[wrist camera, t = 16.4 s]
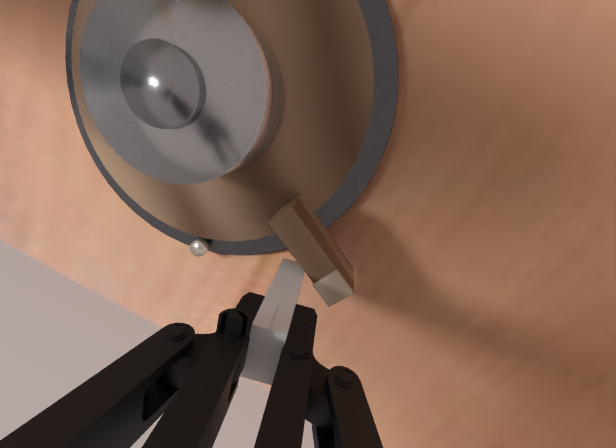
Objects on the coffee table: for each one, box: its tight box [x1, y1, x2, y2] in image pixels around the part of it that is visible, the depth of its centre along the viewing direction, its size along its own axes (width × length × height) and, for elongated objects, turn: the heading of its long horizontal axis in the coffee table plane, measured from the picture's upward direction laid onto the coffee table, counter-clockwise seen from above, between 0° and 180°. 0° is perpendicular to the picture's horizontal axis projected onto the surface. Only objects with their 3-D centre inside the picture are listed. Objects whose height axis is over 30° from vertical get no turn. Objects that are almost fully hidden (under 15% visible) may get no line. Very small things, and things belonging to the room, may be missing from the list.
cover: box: [80, 0, 285, 185], centre depth 15 cm, size 9×9×5 cm
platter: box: [71, 0, 374, 307], centre depth 17 cm, size 19×24×5 cm
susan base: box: [66, 0, 398, 256], centre depth 19 cm, size 22×22×1 cm
